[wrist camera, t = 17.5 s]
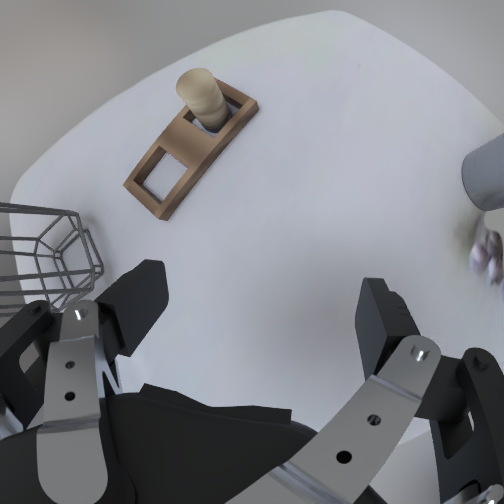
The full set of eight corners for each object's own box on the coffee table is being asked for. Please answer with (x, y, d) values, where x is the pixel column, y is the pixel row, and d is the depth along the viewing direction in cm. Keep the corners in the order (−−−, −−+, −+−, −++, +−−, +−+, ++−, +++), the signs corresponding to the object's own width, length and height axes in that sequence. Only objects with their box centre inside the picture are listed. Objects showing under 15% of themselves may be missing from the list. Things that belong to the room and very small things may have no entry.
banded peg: (216, 101, 37) (194, 63, 27) (238, 115, 36) (221, 76, 26) (196, 123, 37) (168, 89, 27) (218, 138, 37) (194, 104, 27)
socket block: (217, 85, 37) (213, 76, 34) (259, 109, 36) (256, 101, 33) (131, 188, 39) (122, 185, 36) (166, 221, 38) (158, 219, 35)
